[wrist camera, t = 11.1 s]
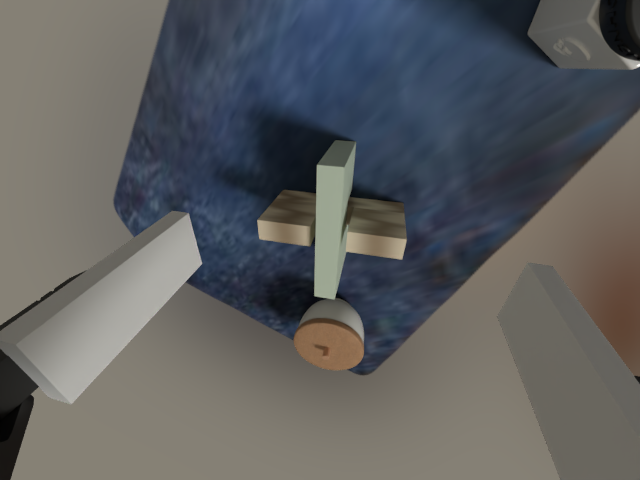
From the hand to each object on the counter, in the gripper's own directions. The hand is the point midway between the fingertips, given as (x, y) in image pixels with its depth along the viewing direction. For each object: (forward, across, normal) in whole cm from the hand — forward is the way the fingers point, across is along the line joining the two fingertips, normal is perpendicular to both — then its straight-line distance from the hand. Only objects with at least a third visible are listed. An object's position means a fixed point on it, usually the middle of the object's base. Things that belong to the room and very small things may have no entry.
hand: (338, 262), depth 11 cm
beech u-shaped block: (+25, -3, -10) cm, 27 cm away
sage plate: (+25, -3, -10) cm, 27 cm away
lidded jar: (+24, -3, -30) cm, 39 cm away
